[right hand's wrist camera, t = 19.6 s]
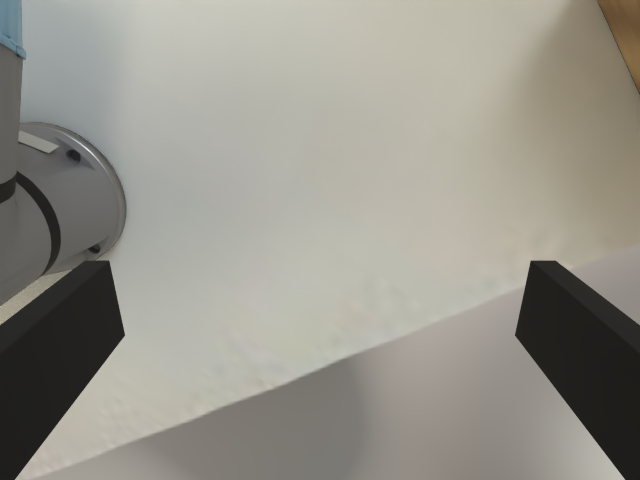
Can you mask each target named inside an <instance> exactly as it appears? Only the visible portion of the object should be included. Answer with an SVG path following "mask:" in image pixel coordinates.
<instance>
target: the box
mask: <svg viewBox="0 0 640 480" xmlns="http://www.w3.org/2000/svg"><path fill="white" fill-rule="evenodd" d="M598 2H599V4H600V7H601V9H602V11H603V13H604V15H605V18H606V20H607V22H608V24H609V27H610V29H611V31H612V33H613V35H614V38H615V40H616V42H617V44H618V46H619V49H620V51H621V53H622V55H623V58H624V60H625V62H626V64H627V66H628V69H629V71H630V73H631V75H632V77H633V80H634V82H635V84H636V86H637V89H638V91H639V93H640V0H598Z"/></svg>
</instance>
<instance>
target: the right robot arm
mask: <svg viewBox="0 0 640 480" xmlns="http://www.w3.org/2000/svg"><path fill="white" fill-rule="evenodd" d="M23 59H24V60H26V52H25V50H24V49H23V48H22V2H21V0H0V306H1V305H2V304H4V303H5V302H6V301H8V300H9V299H10V298H12V297H13V296H15V295H16V294H17V293H19V292H20V291H21V290H23V289H24V288H26V287H27V286H28V285H30V284H31V283H32V282H34V281H35V280H37V279H38V278H39V277H41V276H44V275H48V274H53V273H57V272H62V271H66V270H71V269H73V270H72V271H70V272H69V273H68V274H67V275H65V276H64V277H63V278H61V279H60V280H59V281H57V282H56V283H55V284H54V285H52V286H51V287H50V288H48V289H47V290H46V291H44V292H43V293H42V294H41V295H39V296H38V297H37V298H35V299H34V300H33V301H31V302H30V303H29V304H27V305H26V306H25V307H24V308H22V309H21V310H20V311H18V312H17V313H16V314H14V315H13V316H12V317H11V318H9V319H8V320H7V321H5V322H4V323H3V324H1V325H0V480H15V479H16V477H17V476H18V475H19V473H20V472H21V471H22V469H23V468H24V467H25V465H26V464H27V463H28V462H29V460H30V459H31V458H32V456H33V455H34V454H35V452H36V451H37V450H38V448H39V447H40V446H41V445H42V443H43V442H44V441H45V439H46V438H47V437H48V435H49V434H50V433H51V431H52V430H53V429H54V428H55V426H56V425H57V424H58V422H59V421H60V420H61V418H62V417H63V416H64V414H65V413H66V412H67V411H68V409H69V408H70V407H71V405H72V404H73V403H74V401H75V400H76V399H77V397H78V396H79V395H80V393H81V392H82V391H83V390H84V388H85V387H86V386H87V384H88V383H89V382H90V380H91V379H92V378H93V376H94V375H95V374H96V373H97V371H98V370H99V369H100V367H101V366H102V365H103V363H104V362H105V361H106V359H107V358H108V357H109V356H110V354H111V353H112V352H113V350H114V349H115V348H116V346H117V345H118V344H119V342H120V341H121V340H122V339H123V337H124V336H125V333H124V328H123V324H122V319H121V314H120V310H119V305H118V300H117V295H116V291H115V286H114V281H113V276H112V272H111V267H110V262H109V261H94V260H96V259H97V258H99V257H100V256H101V255H103V254H104V253H105V252H106V251H108V250H109V249H110V248H111V247H112V246H113V245H114V244H115V242H116V241H117V239H118V238H119V236H120V234H121V232H122V230H123V226H124V223H125V218H126V202H125V196H124V192H123V188H122V185H121V183H120V180H119V178H118V176H117V174H116V172H115V171H114V169H113V167H112V166H111V164H110V163H109V162H108V161H107V159H106V158H105V157H104V156H103V155H102V154H101V152H100V151H99V150H97V149H96V148H95V147H94V146H93V145H92V144H91V143H89V142H88V141H87V140H85V139H84V138H82V137H81V136H79V135H77V134H75V133H73V132H72V131H69V130H67V129H65V128H62V127H59V126H56V125H52V124H47V123H38V122H28V123H20V124H19V118H20V101H21V83H22V66H23ZM515 336H516V337H517V339H518V340H519V341H520V342H521V344H522V345H523V346H524V348H525V349H526V350H527V352H528V353H529V354H530V355H531V357H532V358H533V359H534V361H535V362H536V363H537V365H538V366H539V367H540V369H541V370H542V371H543V373H544V374H545V375H546V376H547V378H548V379H549V380H550V382H551V383H552V384H553V386H554V387H555V388H556V390H557V391H558V392H559V393H560V395H561V396H562V397H563V399H564V400H565V401H566V403H567V404H568V405H569V407H570V408H571V409H572V410H573V412H574V413H575V414H576V416H577V417H578V418H579V420H580V421H581V422H582V424H583V425H584V426H585V428H586V429H587V430H588V431H589V433H590V434H591V435H592V437H593V438H594V439H595V441H596V442H597V443H598V445H599V446H600V447H601V448H602V450H603V451H604V452H605V454H606V455H607V456H608V458H609V459H610V460H611V461H612V463H613V464H614V465H615V467H616V468H617V469H618V471H619V472H620V473H621V475H622V476H623V477H624V479H625V480H640V325H639V324H637V323H636V322H635V321H633V320H632V319H631V318H629V317H628V316H627V315H626V314H624V313H623V312H622V311H620V310H619V309H618V308H616V307H615V306H614V305H613V304H611V303H610V302H609V301H607V300H606V299H605V298H603V297H602V296H601V295H599V294H598V293H597V292H596V291H594V290H593V289H592V288H590V287H589V286H588V285H586V284H585V283H584V282H583V281H581V280H580V279H579V278H577V277H576V276H575V275H573V274H572V273H571V272H570V271H568V270H567V269H566V268H564V267H563V266H562V265H560V264H559V263H558V262H557V261H531V262H530V267H529V272H528V276H527V281H526V286H525V291H524V295H523V300H522V305H521V310H520V314H519V319H518V324H517V328H516V333H515Z"/></svg>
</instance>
